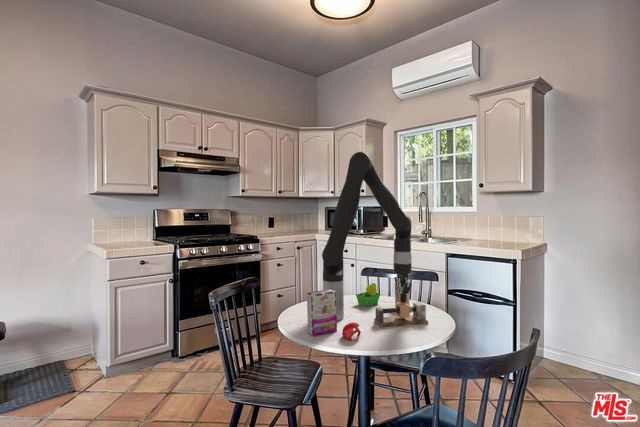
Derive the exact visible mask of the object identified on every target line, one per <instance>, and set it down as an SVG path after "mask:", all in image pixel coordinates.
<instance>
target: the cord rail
mask: <svg viewBox="0 0 640 427" xmlns="http://www.w3.org/2000/svg"><path fill="white" fill-rule="evenodd" d="M426 312H427V305H426V304H425V303H423V302H422V301H416V302H412V306H411V305H410V318H400V317H399V316H397V315H396V316H384V315H385V314H396V313H400V308H395V307H389V308H382V307H375V317H374V319H373V321H374V323H375V324H376V325H377V326H378V327H379V328H380V329H382V328H394V327H395V328H396V327H408V326H421V325H428V324H429V320H428V319H427V313H426ZM411 313H412V314H411Z"/></svg>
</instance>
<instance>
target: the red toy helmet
mask: <svg viewBox="0 0 640 427" xmlns="http://www.w3.org/2000/svg"><path fill="white" fill-rule="evenodd" d="M359 327H360V324H359V323H357V322H348V323H346V324H345V325H344V326H343V328H342V332H341V333H342V334H341V335H342V336H344V337H345V338H346V339H347V340H349V341H352V337H353V336H354V335H355V334H356V333H357V334H356V337H357V338H360V335H361V333H362V332H361V330H360V328H359Z"/></svg>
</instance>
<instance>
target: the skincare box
mask: <svg viewBox="0 0 640 427" xmlns="http://www.w3.org/2000/svg"><path fill="white" fill-rule="evenodd" d="M394 302H395V303H394V304H395V307H394V308H396V302H399V292H398V290H397V288H396V284H395V283H394ZM406 303H407V304H408V305H410V292H409V293H407V294H406Z"/></svg>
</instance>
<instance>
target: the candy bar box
mask: <svg viewBox="0 0 640 427" xmlns="http://www.w3.org/2000/svg"><path fill="white" fill-rule="evenodd" d="M306 310H307V333H308V334H309V335H310V336H312V337H316V336H321V335H325V334H329V333H330V334H331V333H335V332H337V331H338V321H337V316H336V315H337V314H336V291H334V290H332V289H328V290H323V289H322V290H317V291H310V292H306Z"/></svg>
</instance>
